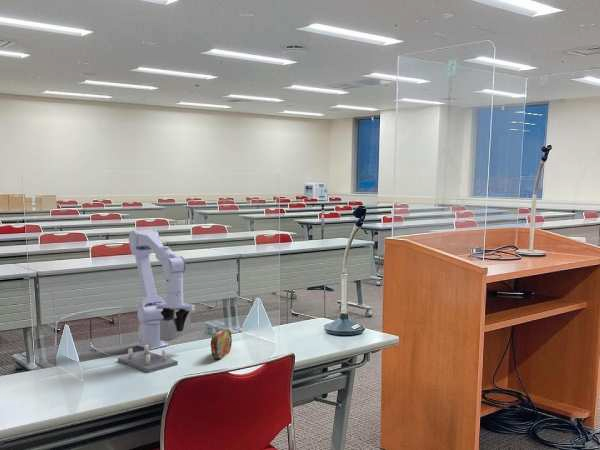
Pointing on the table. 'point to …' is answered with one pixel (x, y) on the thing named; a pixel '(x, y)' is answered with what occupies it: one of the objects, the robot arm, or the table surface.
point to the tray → (148, 360)
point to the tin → (221, 344)
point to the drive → (173, 328)
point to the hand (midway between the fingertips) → (175, 330)
